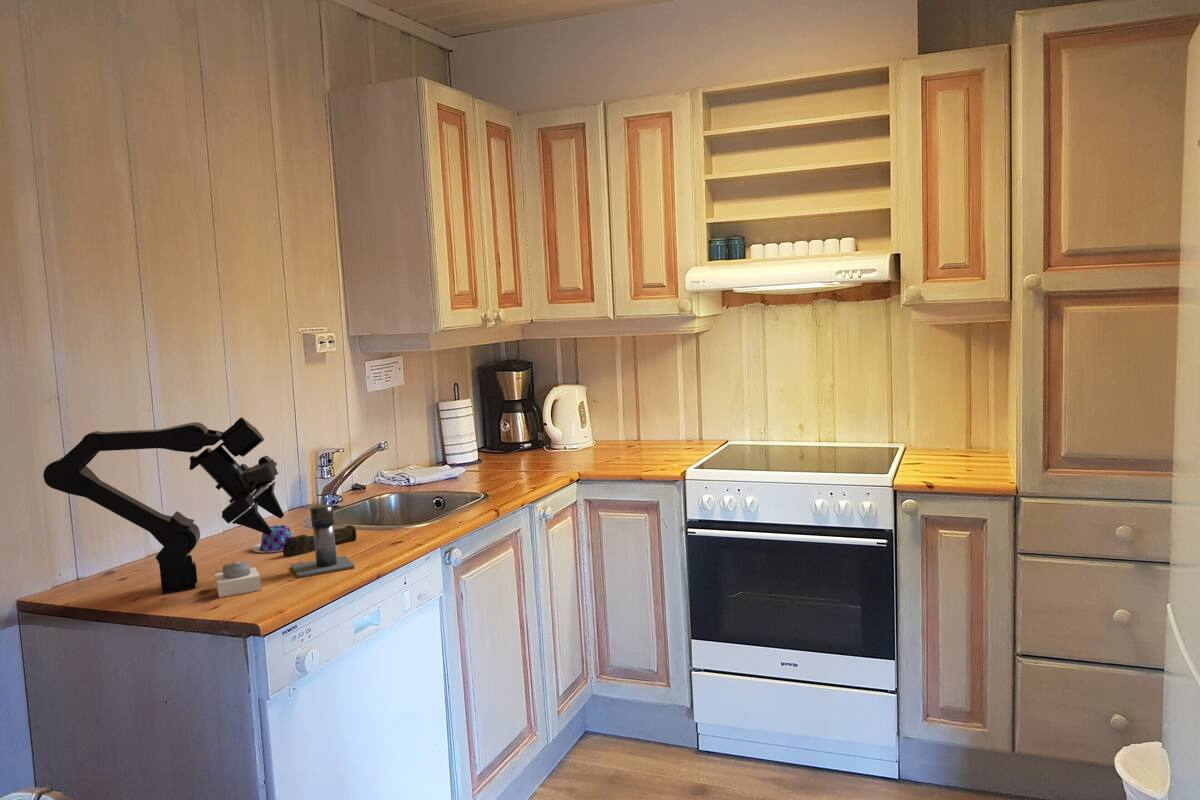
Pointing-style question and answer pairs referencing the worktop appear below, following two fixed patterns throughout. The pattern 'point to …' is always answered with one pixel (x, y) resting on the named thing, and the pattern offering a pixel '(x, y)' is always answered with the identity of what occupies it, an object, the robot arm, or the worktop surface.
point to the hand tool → (306, 543)
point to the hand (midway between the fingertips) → (276, 524)
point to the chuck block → (237, 579)
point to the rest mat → (312, 569)
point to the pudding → (274, 539)
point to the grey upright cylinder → (324, 535)
